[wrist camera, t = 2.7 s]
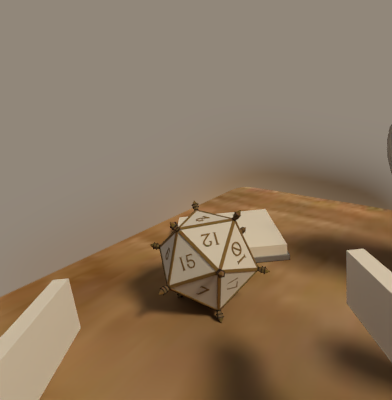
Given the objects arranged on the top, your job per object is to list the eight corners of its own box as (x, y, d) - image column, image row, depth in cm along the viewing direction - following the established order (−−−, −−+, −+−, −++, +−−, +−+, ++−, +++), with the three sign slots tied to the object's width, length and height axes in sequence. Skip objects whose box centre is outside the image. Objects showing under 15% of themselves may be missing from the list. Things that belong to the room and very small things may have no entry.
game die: (202, 327, 29) (181, 224, 33) (291, 307, 26) (257, 194, 30) (138, 342, 22) (120, 207, 26) (252, 315, 18) (213, 164, 22)
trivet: (171, 270, 33) (169, 255, 32) (179, 228, 44) (178, 217, 44) (289, 259, 32) (289, 244, 32) (267, 219, 44) (266, 208, 43)
